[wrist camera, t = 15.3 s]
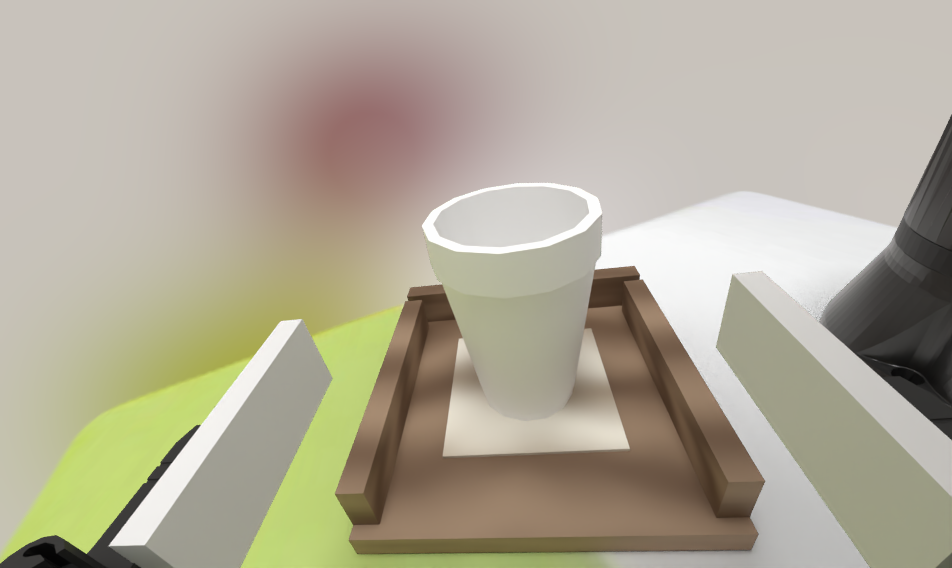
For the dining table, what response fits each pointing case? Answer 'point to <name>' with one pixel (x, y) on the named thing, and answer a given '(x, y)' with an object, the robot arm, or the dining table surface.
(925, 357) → the robot arm
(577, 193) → the foam cup
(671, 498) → the tray
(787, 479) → the dining table surface
